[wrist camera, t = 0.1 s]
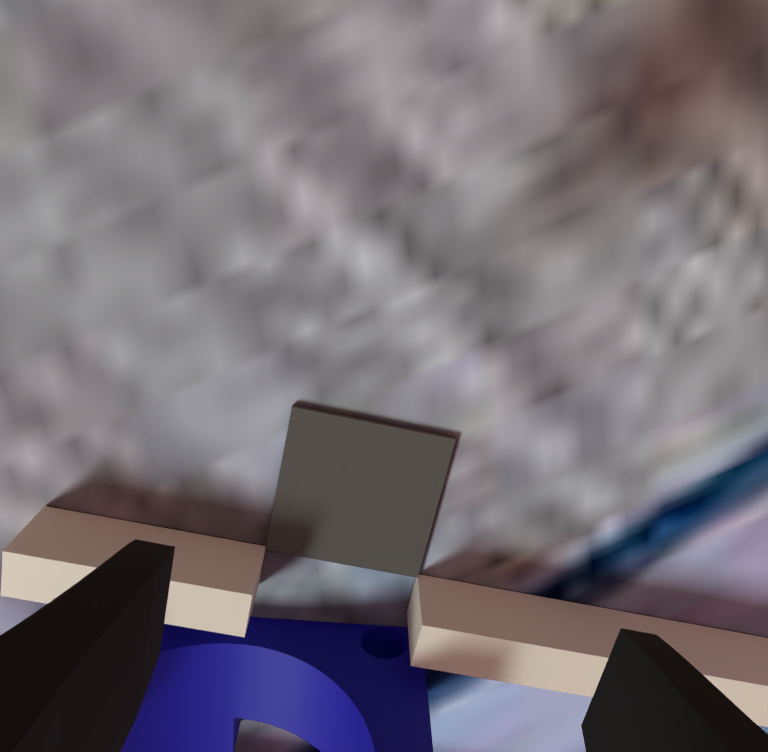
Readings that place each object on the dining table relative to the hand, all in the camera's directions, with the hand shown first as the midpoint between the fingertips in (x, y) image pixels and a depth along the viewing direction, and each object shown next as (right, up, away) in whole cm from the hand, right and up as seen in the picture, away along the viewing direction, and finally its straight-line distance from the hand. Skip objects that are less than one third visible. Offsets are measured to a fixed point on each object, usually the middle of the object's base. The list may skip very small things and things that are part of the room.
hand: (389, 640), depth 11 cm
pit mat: (-1, 0, +10) cm, 11 cm away
